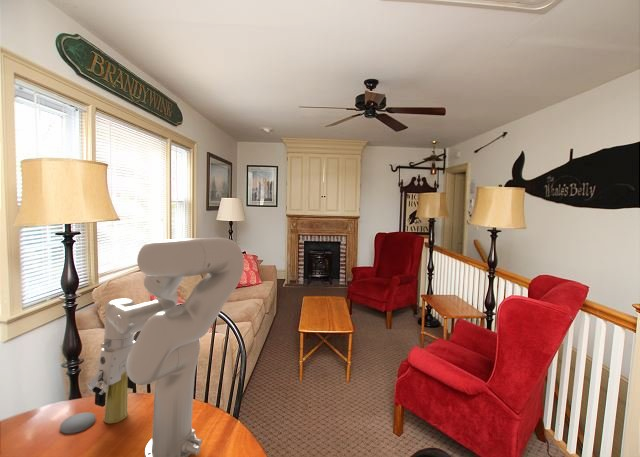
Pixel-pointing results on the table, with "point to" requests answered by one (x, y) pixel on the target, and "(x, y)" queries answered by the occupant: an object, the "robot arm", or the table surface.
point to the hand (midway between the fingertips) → (115, 395)
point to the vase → (116, 401)
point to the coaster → (77, 423)
